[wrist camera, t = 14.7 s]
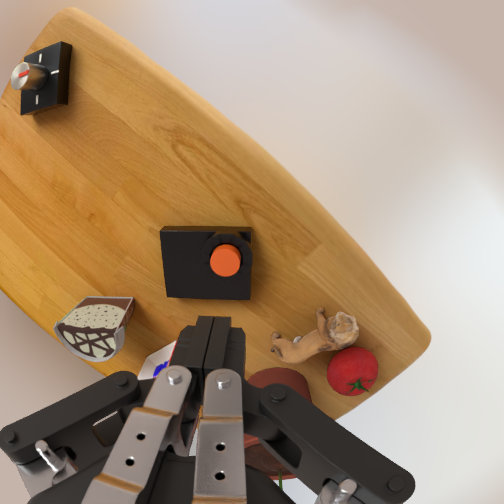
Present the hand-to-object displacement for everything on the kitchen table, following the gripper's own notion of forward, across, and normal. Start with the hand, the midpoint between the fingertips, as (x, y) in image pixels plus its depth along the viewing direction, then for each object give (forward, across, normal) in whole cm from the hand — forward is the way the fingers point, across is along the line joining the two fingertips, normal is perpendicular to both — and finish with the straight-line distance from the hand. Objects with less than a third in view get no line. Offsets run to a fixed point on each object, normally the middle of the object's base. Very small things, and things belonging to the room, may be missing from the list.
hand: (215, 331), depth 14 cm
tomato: (+27, -18, +26) cm, 42 cm away
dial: (+24, +30, -21) cm, 44 cm away
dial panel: (+27, +30, -21) cm, 45 cm away
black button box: (+27, +5, +8) cm, 29 cm away
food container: (+27, +22, +18) cm, 39 cm away
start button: (+23, +2, +6) cm, 24 cm away
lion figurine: (+27, -10, +18) cm, 34 cm away
